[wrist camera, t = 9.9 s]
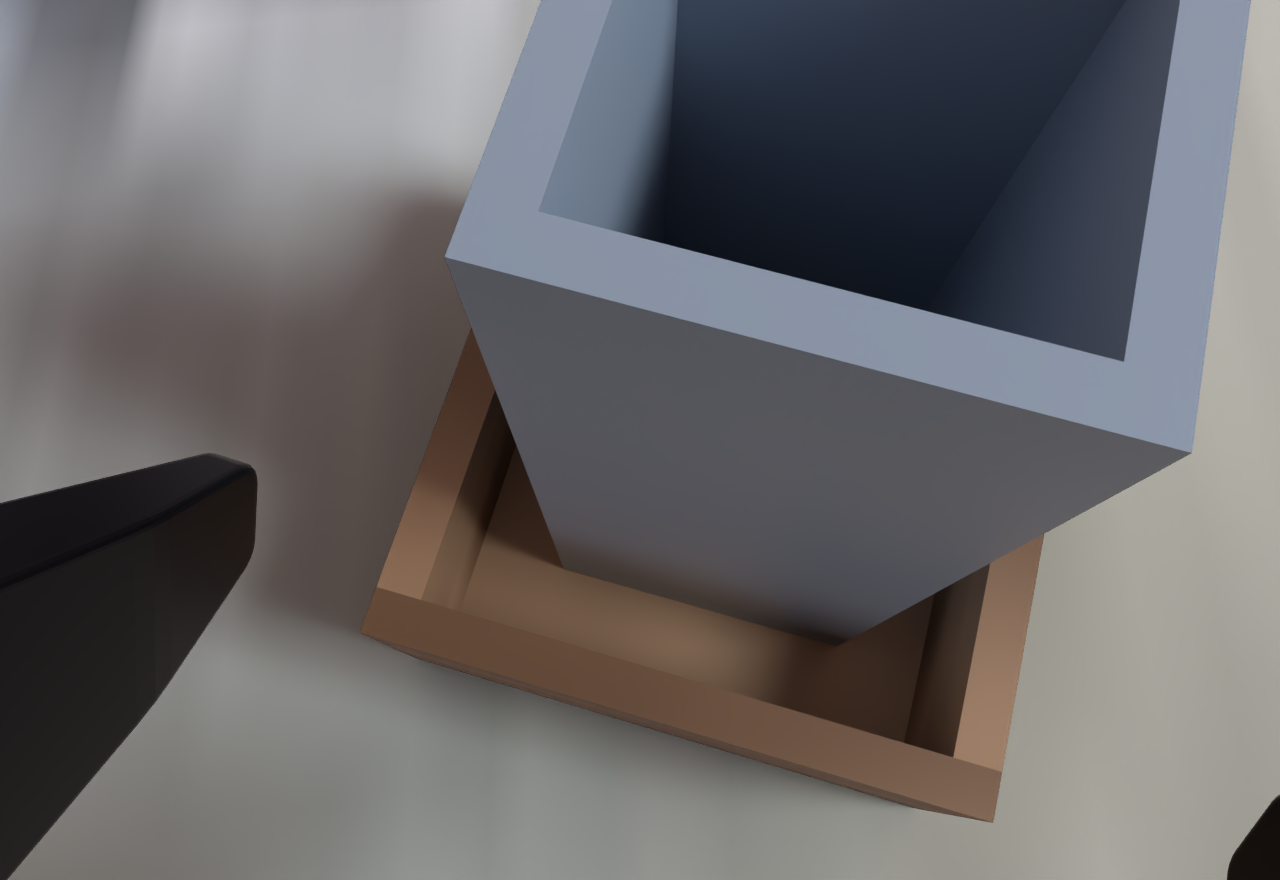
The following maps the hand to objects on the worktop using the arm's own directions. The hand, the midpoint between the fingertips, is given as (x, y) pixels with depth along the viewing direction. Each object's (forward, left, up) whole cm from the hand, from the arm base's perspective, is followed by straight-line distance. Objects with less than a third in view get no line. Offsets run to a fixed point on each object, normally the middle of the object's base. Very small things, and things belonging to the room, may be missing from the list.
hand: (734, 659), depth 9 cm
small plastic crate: (+4, +2, -9) cm, 10 cm away
